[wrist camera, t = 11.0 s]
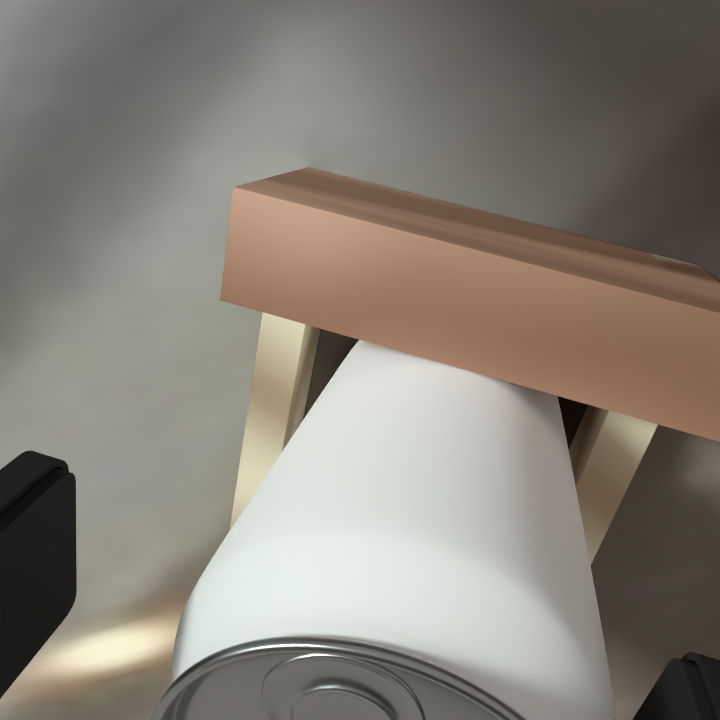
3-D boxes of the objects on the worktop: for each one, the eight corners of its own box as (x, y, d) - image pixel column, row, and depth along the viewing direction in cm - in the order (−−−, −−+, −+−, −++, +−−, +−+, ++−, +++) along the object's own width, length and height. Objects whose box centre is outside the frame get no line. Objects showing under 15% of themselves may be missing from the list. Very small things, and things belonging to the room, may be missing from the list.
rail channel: (308, 167, 17) (233, 186, 12) (699, 265, 15) (778, 328, 11) (213, 732, 26) (152, 860, 22) (447, 820, 25) (434, 976, 21)
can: (548, 285, 16) (635, 618, 5) (565, 492, 18) (652, 1031, 8) (320, 312, 18) (41, 606, 7) (360, 498, 20) (189, 945, 9)
